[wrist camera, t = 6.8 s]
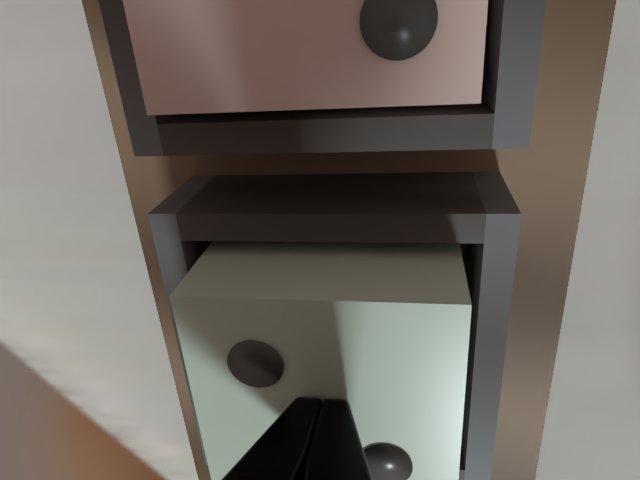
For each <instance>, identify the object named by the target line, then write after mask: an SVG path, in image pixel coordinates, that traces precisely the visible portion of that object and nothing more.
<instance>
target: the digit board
mask: <svg viewBox="0 0 640 480" xmlns="http://www.w3.org/2000/svg"><path fill="white" fill-rule="evenodd" d="M82 3H83V7H84V11H85V15H86V19H87V23H88V27H89V31H90V36H91V40H92V44H93V48H94V52H95V56H96V60H97V64H98V68H99V72H100V77H101V81H102V85H103V89H104V93H105V97H106V101H107V105H108V109H109V113H110V118H111V122H112V126H113V130H114V134H115V138H116V142H117V146H118V150H119V154H120V159H121V163H122V167H123V171H124V175H125V179H126V183H127V187H128V191H129V195H130V200H131V204H132V208H133V212H134V216H135V220H136V224H137V228H138V232H139V236H140V241H141V245H142V249H143V253H144V257H145V261H146V265H147V269H148V273H149V278H150V282H151V286H152V290H153V294H154V298H155V302H156V306H157V310H158V314H159V319H160V323H161V327H162V331H163V335H164V339H165V343H166V347H167V351H168V355H169V360H170V364H171V368H172V372H173V376H174V380H175V384H176V388H177V392H178V396H179V401H180V405H181V409H182V413H183V417H184V421H185V425H186V429H187V433H188V437H189V442H190V446H191V450H192V454H193V458H194V462H195V466H196V470H197V474H198V478H199V480H211V476H210V472H209V467H208V463H207V459H206V454H205V450H204V446H203V441H202V437H201V432H200V428H199V424H198V419H197V415H196V411H195V406H194V402H193V397H192V393H191V389H190V384H189V380H188V376H187V371H186V367H185V362H184V358H183V354H182V349H181V345H180V341H179V336H178V332H177V327H176V323H175V319H174V314H173V310H172V305H171V301H170V297H169V296H170V295H171V293H172V292H173V291H174V290H175V288H176V287H177V286H178V284H179V283H180V282H181V281H182V279H183V278H184V277H185V275H186V274H187V273H188V272H189V270H190V269H191V268H192V267H193V265H194V264H195V263H196V261H197V260H198V259H199V258H200V256H201V255H202V254H203V253H204V251H205V250H206V249H207V247H208V246H209V245H210V244H211V242H212V241H258V242H363V243H459V244H460V249H461V254H462V259H463V264H464V269H465V274H466V278H467V283H468V288H469V293H470V298H471V303H472V310H471V323H470V336H469V349H468V362H467V375H466V389H465V402H464V415H463V428H462V441H461V454H460V467H459V480H535V475H536V469H537V463H538V458H539V452H540V446H541V440H542V434H543V428H544V422H545V416H546V410H547V405H548V399H549V393H550V387H551V381H552V375H553V369H554V363H555V357H556V352H557V346H558V340H559V334H560V328H561V322H562V316H563V310H564V304H565V299H566V293H567V287H568V281H569V275H570V269H571V263H572V257H573V251H574V246H575V240H576V234H577V228H578V222H579V216H580V210H581V204H582V199H583V193H584V187H585V181H586V175H587V169H588V163H589V157H590V151H591V146H592V140H593V134H594V128H595V122H596V116H597V110H598V104H599V98H600V93H601V87H602V81H603V75H604V69H605V63H606V57H607V51H608V45H609V40H610V34H611V28H612V22H613V16H614V10H615V4H616V0H488V11H487V25H486V39H485V53H484V67H483V81H482V95H481V103H480V104H452V105H424V106H395V107H367V108H339V109H311V110H282V111H254V112H226V113H198V114H169V115H147V113H146V108H145V103H144V98H143V94H142V89H141V84H140V80H139V75H138V70H137V66H136V61H135V56H134V51H133V47H132V42H131V37H130V33H129V28H128V23H127V18H126V14H125V9H124V4H123V0H82Z"/></svg>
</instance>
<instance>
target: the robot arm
mask: <svg viewBox="0 0 640 480" xmlns="http://www.w3.org/2000/svg"><path fill="white" fill-rule="evenodd" d="M222 480H372V477H371V473H370V470H369V467H368V464H367V460H366V457H365V454H364V450H363V447H362V444H361V441H360V437H359V434H358V431H357V428H356V424H355V421H354V418H353V414H352V411H351V408H350V405H349V402H348V401H347V400H345V399H330V398H326V399H324V400H323V401H322V400H321V399H320V398H315V397H297V398H296V399H295V400H294V401H293V402H292V403H291V404H290V405H289V406H288V407H287V408H286V409H285V410H284V412H283V413H282V414H281V415H280V416H279V417H278V418H277V419H276V420H275V421H274V422H273V424H272V425H271V426H270V427H269V428H268V429H267V430H266V431H265V432H264V433H263V435H262V436H261V437H260V438H259V439H258V440H257V441H256V442H255V443H254V444H253V446H252V447H251V448H250V449H249V450H248V451H247V452H246V453H245V454H244V455H243V457H242V458H241V459H240V460H239V461H238V462H237V463H236V464H235V465H234V466H233V468H232V469H231V470H230V471H229V472H228V473H227V474H226V475H225V476H224V477H223V478H222Z"/></svg>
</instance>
